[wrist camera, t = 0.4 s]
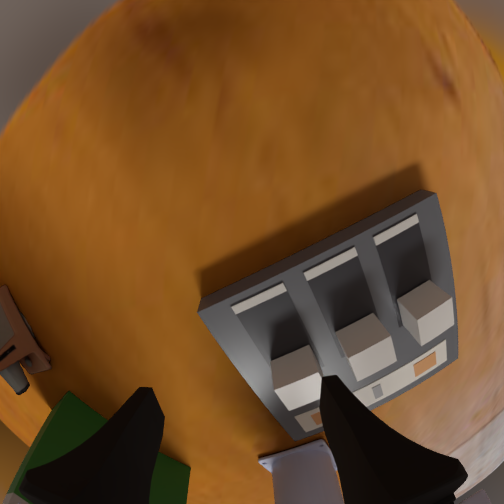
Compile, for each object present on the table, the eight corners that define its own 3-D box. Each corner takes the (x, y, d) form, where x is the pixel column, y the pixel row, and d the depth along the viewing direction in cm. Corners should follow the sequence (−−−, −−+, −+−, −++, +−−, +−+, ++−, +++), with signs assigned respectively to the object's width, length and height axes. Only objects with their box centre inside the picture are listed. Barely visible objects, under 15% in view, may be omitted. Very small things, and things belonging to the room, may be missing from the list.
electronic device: (36, 369, 23) (4, 410, 15) (-10, 295, 20) (-53, 326, 13) (56, 362, 22) (22, 409, 15) (6, 281, 19) (-43, 315, 12)
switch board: (448, 347, 23) (458, 358, 21) (292, 426, 25) (294, 442, 23) (421, 189, 18) (437, 193, 16) (201, 298, 20) (196, 313, 18)
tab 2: (433, 305, 18) (454, 324, 16) (402, 324, 19) (421, 346, 16) (429, 279, 18) (452, 297, 15) (396, 299, 18) (417, 320, 15)
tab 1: (320, 367, 20) (330, 394, 17) (284, 382, 20) (289, 410, 17) (309, 344, 19) (318, 372, 16) (270, 361, 19) (273, 390, 16)
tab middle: (380, 337, 19) (397, 360, 16) (345, 355, 19) (357, 381, 17) (373, 312, 18) (390, 335, 15) (335, 332, 19) (348, 358, 16)
